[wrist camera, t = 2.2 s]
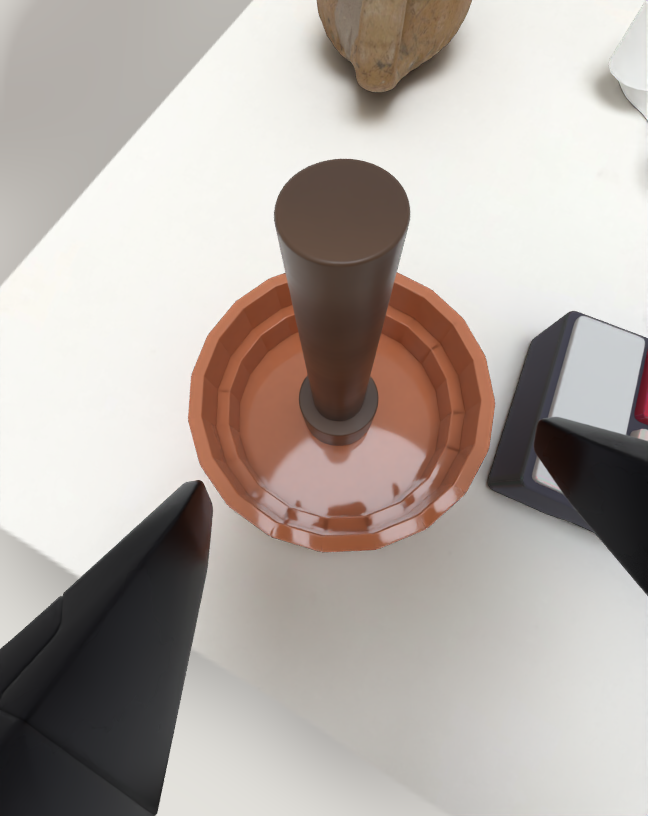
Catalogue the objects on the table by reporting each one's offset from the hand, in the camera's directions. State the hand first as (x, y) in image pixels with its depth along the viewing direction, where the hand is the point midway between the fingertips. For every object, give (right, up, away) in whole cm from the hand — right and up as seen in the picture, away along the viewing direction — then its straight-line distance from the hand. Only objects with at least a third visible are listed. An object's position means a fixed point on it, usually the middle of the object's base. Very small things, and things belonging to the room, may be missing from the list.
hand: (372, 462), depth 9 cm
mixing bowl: (0, +1, +13) cm, 13 cm away
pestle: (0, +1, +12) cm, 12 cm away
